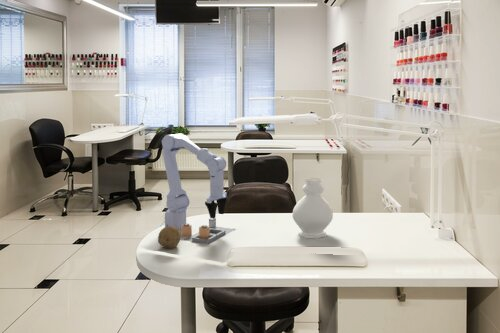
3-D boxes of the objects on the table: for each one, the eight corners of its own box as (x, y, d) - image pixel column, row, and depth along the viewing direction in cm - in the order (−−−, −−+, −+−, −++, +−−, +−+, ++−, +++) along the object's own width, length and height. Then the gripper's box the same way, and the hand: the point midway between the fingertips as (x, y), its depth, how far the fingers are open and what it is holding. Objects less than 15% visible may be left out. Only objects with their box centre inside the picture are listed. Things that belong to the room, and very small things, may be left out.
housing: (183, 242, 223) (183, 235, 223) (211, 228, 245) (211, 221, 244) (208, 246, 218) (208, 239, 218) (235, 231, 239) (235, 224, 239)
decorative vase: (330, 241, 226) (332, 184, 222) (289, 238, 230) (290, 182, 225) (333, 229, 243) (335, 176, 239) (295, 227, 247) (296, 175, 242)
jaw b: (179, 238, 229) (179, 225, 228) (185, 235, 233) (184, 222, 232) (188, 239, 227) (187, 226, 226) (193, 237, 231) (193, 223, 230)
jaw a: (197, 240, 222) (197, 226, 221) (202, 237, 226) (202, 224, 225) (206, 242, 220) (206, 227, 219) (211, 239, 224) (211, 225, 223)
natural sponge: (167, 255, 208) (166, 230, 206) (153, 250, 214) (153, 226, 212) (185, 249, 214) (184, 226, 212) (171, 245, 220) (170, 222, 218)
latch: (208, 227, 242) (208, 219, 241) (212, 225, 244) (212, 217, 244) (212, 228, 241) (212, 219, 240) (215, 226, 244) (215, 218, 243)
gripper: (216, 189, 219) (216, 221, 221) (232, 183, 232) (232, 213, 234) (202, 187, 222) (202, 218, 224) (218, 181, 235) (218, 211, 237)
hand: (216, 215), depth 229 cm, fingers open, 7 cm apart
